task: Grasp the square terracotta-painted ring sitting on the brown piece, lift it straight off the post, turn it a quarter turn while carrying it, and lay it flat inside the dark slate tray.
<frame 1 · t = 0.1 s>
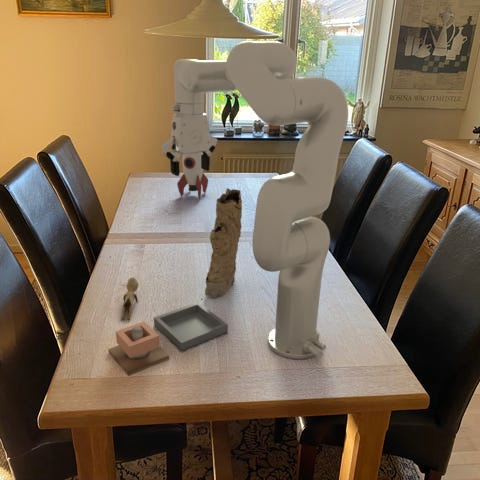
hand: (190, 172, 137), 31 cm above the table, tool pointing down, fingers open, 9 cm apart
ring: (138, 344, 110), point 3 cm above the table, touching brown piece
brown piece: (138, 355, 111), on the table
tan log: (223, 294, 138), on the table
tray: (190, 330, 121), on the table
toy: (193, 195, 217), on the table
figurine: (130, 306, 131), on the table
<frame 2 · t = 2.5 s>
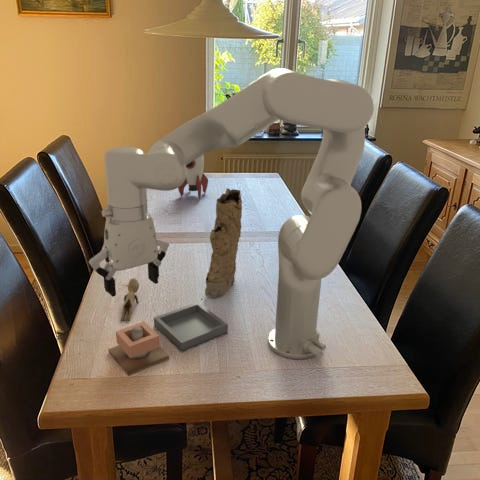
hand: (132, 287, 104), 18 cm above the table, tool pointing down, fingers open, 9 cm apart
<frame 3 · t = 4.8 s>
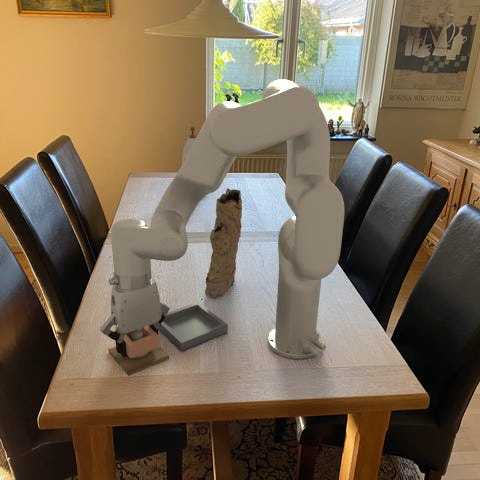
hand: (138, 347, 110), 2 cm above the table, tool pointing down, fingers closed on ring, 7 cm apart
ring: (138, 344, 110), point 3 cm above the table, touching gripper, brown piece
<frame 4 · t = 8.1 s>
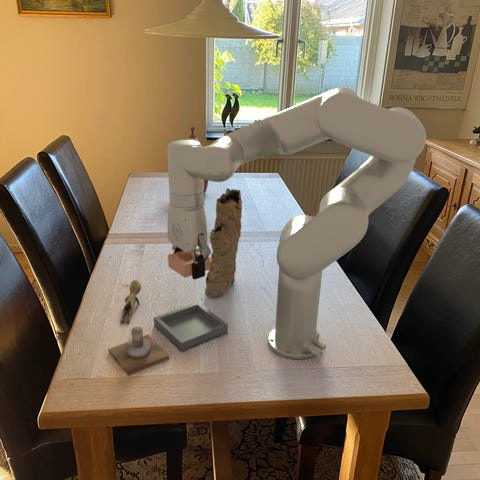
hand: (189, 270, 114), 16 cm above the table, tool pointing down, fingers closed on ring, 7 cm apart
ring: (189, 267, 114), point 17 cm above the table, touching gripper
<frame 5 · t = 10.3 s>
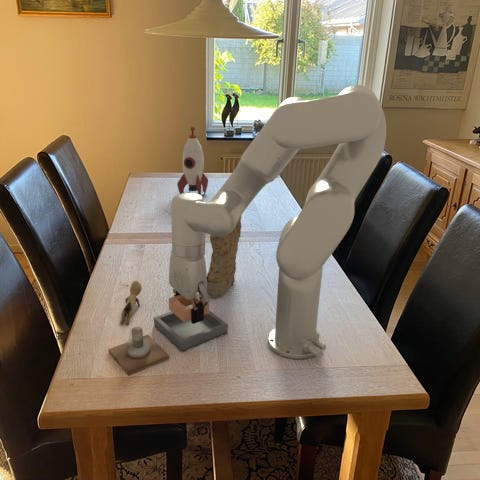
hand: (188, 313, 119), 5 cm above the table, tool pointing down, fingers closed on ring, 7 cm apart
ring: (188, 311, 119), point 5 cm above the table, touching gripper
when the fingers open (3 cm above the table, at t = 11.8 s): ring drops 3 cm, resting on tray.
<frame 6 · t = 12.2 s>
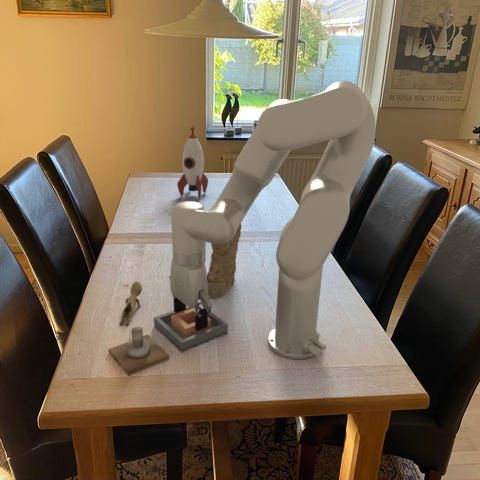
hand: (190, 319, 120), 3 cm above the table, tool pointing down, fingers open, 9 cm apart
ring: (191, 328, 121), point 1 cm above the table, touching tray
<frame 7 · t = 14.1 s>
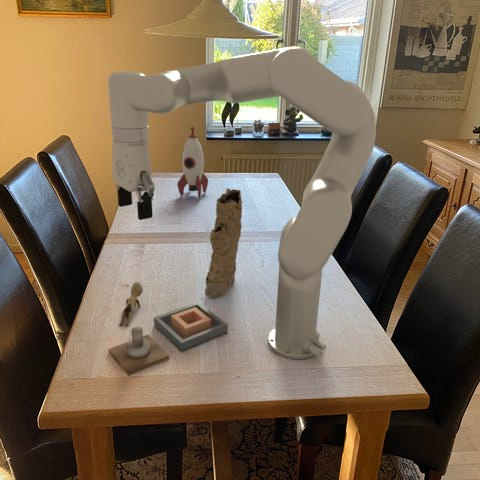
hand: (135, 211, 110), 30 cm above the table, tool pointing down, fingers open, 9 cm apart
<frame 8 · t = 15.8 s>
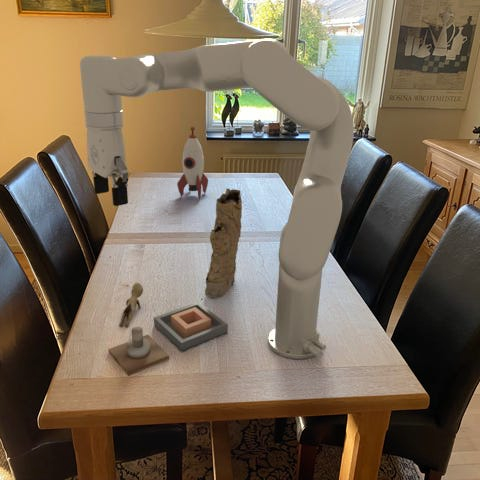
hand: (111, 198, 109), 33 cm above the table, tool pointing down, fingers open, 9 cm apart
at the end: ring inside the target area on the tray (0.1 cm from its centre), point 0.6 cm above the tray's base; ring tilted 0°; the gripper is holding nothing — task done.
